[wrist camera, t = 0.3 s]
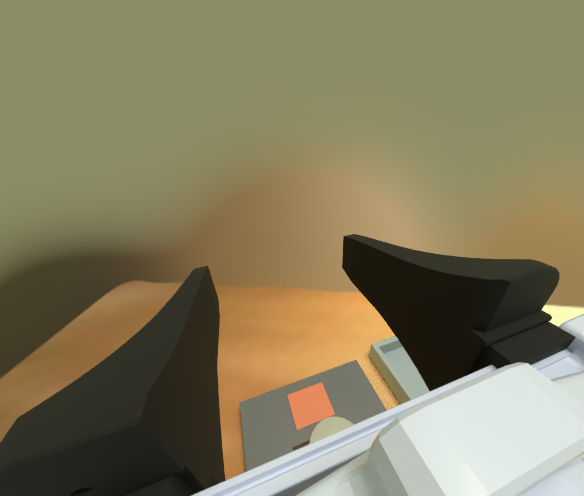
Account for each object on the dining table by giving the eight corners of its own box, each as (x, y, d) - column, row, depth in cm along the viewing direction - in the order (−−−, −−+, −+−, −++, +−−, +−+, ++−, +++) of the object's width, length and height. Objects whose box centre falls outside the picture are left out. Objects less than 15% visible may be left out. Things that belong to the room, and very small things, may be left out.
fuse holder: (490, 601, 14) (502, 602, 13) (280, 770, 10) (277, 786, 10) (354, 366, 27) (356, 359, 26) (241, 409, 24) (239, 402, 23)
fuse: (369, 504, 17) (384, 479, 14) (321, 530, 16) (324, 512, 13) (343, 440, 21) (350, 408, 17) (302, 459, 20) (300, 429, 16)
